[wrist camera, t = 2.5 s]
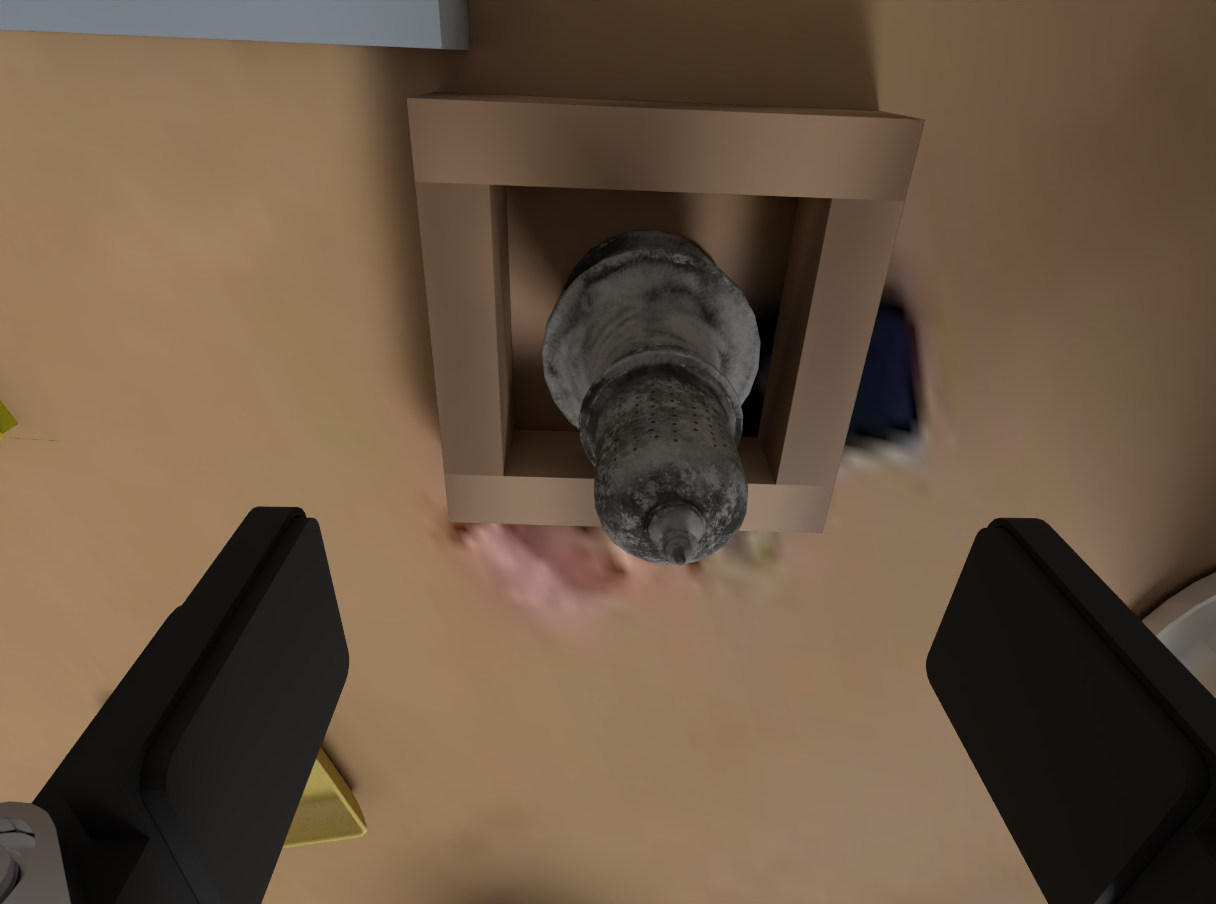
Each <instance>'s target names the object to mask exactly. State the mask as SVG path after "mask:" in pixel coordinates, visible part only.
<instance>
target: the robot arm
mask: <svg viewBox="0 0 1216 904" xmlns="http://www.w3.org/2000/svg"><path fill="white" fill-rule="evenodd" d="M348 669H349V653H348V648H347V644H346V639H345V635H344V631H343V626H342V622H341V618H340V613H339V609H338V605H337V600H336V596H335V592H334V587H333V583H332V579H331V574H330V570H329V566H328V561H327V557H326V552H325V548H324V544H323V539H322V535H321V531H320V527H319V524H318V521H317V520H316V519H315V518H307V517H306V515H305V512H304V511H303V510H302V509H301V508H299V507H255V508H253V509H252V510H251V511H250V512H249V513H248V515H247V516H246V517H245V519H244V520H243V522H242V523H241V524H240V526H239V527H238V529H237V530H236V531H235V533H234V534H233V535H232V537H231V538H230V540H229V541H228V542H227V544H226V545H225V547H224V548H223V549H222V551H221V552H220V553H219V555H218V556H217V558H216V559H215V560H214V562H213V563H212V565H211V566H210V567H209V569H208V570H207V571H206V573H205V574H204V576H203V577H202V578H201V580H200V581H199V583H198V584H197V585H196V587H195V588H194V589H193V591H192V592H191V594H190V595H189V596H188V598H187V599H186V601H185V602H184V603H183V605H181V606H179V607H177V608H176V609H175V610H174V611H173V612H172V613H171V614H170V615H169V617H168V618H167V619H166V621H165V622H164V623H163V625H162V626H161V627H160V629H159V630H158V631H157V633H156V634H155V636H154V637H153V638H152V640H151V641H150V642H149V644H148V645H147V646H146V648H145V649H144V651H143V652H142V653H141V655H140V656H139V657H138V659H137V660H136V661H135V663H134V664H133V666H132V667H131V668H130V670H129V671H128V672H127V674H126V675H125V677H124V678H123V679H122V681H121V682H120V683H119V685H118V686H117V687H116V689H115V690H114V692H113V693H112V694H111V696H110V697H109V698H108V700H107V701H106V702H105V704H104V705H103V707H102V708H101V709H100V711H99V712H98V713H97V715H96V716H95V717H94V719H93V720H92V722H91V723H90V724H89V726H88V727H87V728H86V730H85V731H84V733H83V734H82V735H81V737H80V738H79V739H78V741H77V742H76V743H75V745H74V746H73V748H72V749H71V750H70V752H69V753H68V754H67V756H66V757H65V758H64V760H63V761H62V763H61V764H60V765H59V767H58V768H57V769H56V771H55V772H54V774H53V775H52V776H51V778H50V779H49V780H48V782H47V783H46V784H45V786H44V787H43V789H42V790H41V791H40V793H39V794H38V795H37V797H36V798H35V799H34V801H33V802H32V803H22V802H10V801H9V802H4V803H0V904H261V903H262V900H263V897H264V895H265V892H266V889H267V887H268V884H269V882H270V879H271V876H272V874H273V871H274V868H275V866H276V863H277V860H278V858H279V855H280V853H281V850H282V847H283V845H284V842H285V839H286V837H287V834H288V832H289V829H290V826H291V824H292V821H293V818H294V816H295V813H296V810H297V808H298V805H299V803H300V800H301V797H302V795H303V792H304V789H305V787H306V784H307V781H308V779H309V776H310V774H311V771H312V768H313V766H314V763H315V760H316V758H317V755H318V752H319V750H320V747H321V745H322V742H323V739H324V737H325V734H326V731H327V729H328V726H329V724H330V721H331V718H332V716H333V713H334V710H335V708H336V705H337V702H338V700H339V697H340V695H341V692H342V689H343V687H344V684H345V681H346V678H347V674H348ZM926 671H927V676H928V679H929V682H930V684H931V686H932V688H933V690H934V691H935V693H936V695H937V697H938V699H939V701H940V703H941V705H942V706H943V708H944V710H945V712H946V714H947V716H948V718H949V719H950V721H951V723H952V725H953V727H954V729H955V731H956V733H957V734H958V736H959V738H960V740H961V742H962V744H963V746H964V747H965V749H966V751H967V753H968V755H969V757H970V759H971V761H972V762H973V764H974V766H975V768H976V770H977V772H978V774H979V775H980V777H981V779H982V781H983V783H984V785H985V787H986V788H987V790H988V792H989V794H990V796H991V798H992V800H993V802H994V803H995V805H996V807H997V809H998V811H999V813H1000V815H1001V816H1002V818H1003V820H1004V822H1005V824H1006V826H1007V828H1008V830H1009V831H1010V833H1011V835H1012V837H1013V839H1014V841H1015V843H1016V844H1017V846H1018V848H1019V850H1020V852H1021V854H1022V856H1023V857H1024V859H1025V861H1026V863H1027V865H1028V867H1029V869H1030V871H1031V872H1032V874H1033V876H1034V878H1035V880H1036V882H1037V884H1038V885H1039V887H1040V889H1041V891H1042V893H1043V895H1044V897H1045V899H1046V900H1047V902H1048V904H1216V572H1214V573H1212V574H1210V575H1208V576H1206V577H1204V578H1202V579H1200V580H1198V581H1196V582H1194V583H1193V584H1191V585H1189V586H1188V587H1186V588H1185V589H1183V590H1181V591H1180V592H1178V593H1177V594H1175V595H1174V596H1172V597H1170V598H1169V599H1167V600H1166V601H1165V602H1163V603H1162V604H1161V605H1160V606H1158V607H1157V608H1156V609H1155V610H1154V611H1152V612H1151V613H1150V614H1149V615H1147V616H1146V617H1145V618H1144V619H1143V620H1142V621H1141V620H1140V619H1139V618H1138V617H1137V616H1136V615H1135V614H1134V613H1133V612H1132V611H1131V610H1130V609H1129V608H1128V607H1127V606H1126V605H1125V603H1124V602H1123V601H1122V600H1121V599H1120V598H1119V597H1118V596H1117V595H1116V594H1115V593H1114V592H1113V591H1112V590H1111V589H1110V588H1109V587H1108V586H1107V585H1106V584H1105V583H1104V582H1103V581H1102V580H1101V578H1100V577H1099V576H1098V575H1097V574H1096V573H1095V572H1094V571H1093V570H1092V569H1091V568H1090V567H1089V566H1088V565H1087V564H1086V563H1085V562H1084V561H1083V560H1082V559H1081V558H1080V557H1079V556H1078V555H1077V553H1076V552H1075V551H1074V550H1073V549H1072V548H1071V547H1070V546H1069V545H1068V544H1067V543H1066V542H1065V541H1064V540H1063V539H1062V538H1061V537H1060V536H1059V535H1058V534H1057V533H1056V532H1055V531H1054V530H1053V528H1052V527H1051V526H1050V525H1049V524H1047V523H1046V522H1045V521H1043V520H1041V519H1037V518H997V519H994V520H993V521H992V522H991V523H990V524H989V525H988V527H987V528H983V529H981V530H980V531H979V532H978V534H977V535H976V537H975V540H974V542H973V545H972V547H971V550H970V552H969V555H968V557H967V560H966V562H965V565H964V567H963V570H962V572H961V574H960V577H959V579H958V582H957V584H956V587H955V589H954V592H953V594H952V597H951V599H950V602H949V604H948V607H947V609H946V611H945V614H944V616H943V619H942V621H941V624H940V626H939V629H938V631H937V634H936V636H935V639H934V641H933V644H932V646H931V648H930V651H929V653H928V656H927V660H926Z"/></svg>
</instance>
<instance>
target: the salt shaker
mask: <svg viewBox="0 0 1216 904" xmlns="http://www.w3.org/2000/svg"><path fill="white" fill-rule="evenodd" d="M759 355H760V337H759V332H758V327H757V323H756V318H755V314H754V313H753V311H752V309H751V307H750V305H749V303H748V302H747V300H746V298H745V296H744V294H743V292H742V290H741V289H740V288H739V287H738V286H737V285H736V284H735V283H734V282H733V281H732V280H731V279H730V278H729V277H728V276H727V275H726V274H725V273H724V272H723V271H722V270H721V269H719V268H717V267H716V266H715V264H714V262H713V261H712V260H711V259H710V258H709V257H708V256H707V255H706V254H705V253H704V252H703V251H702V250H701V249H700V248H699V247H698V246H696V245H695V244H693V243H691V242H689V241H687V240H685V239H684V238H682V237H680V236H678V235H675V234H671V233H666V232H662V231H658V230H640V231H630V232H626V233H623V234H620V235H617V236H614V237H611V238H608V239H607V240H605V241H604V242H602V243H601V244H599V245H598V246H596V247H595V248H593V249H592V250H590V251H589V252H588V253H587V254H586V255H585V257H584V258H583V259H582V260H581V261H580V262H579V263H578V264H577V265H576V267H575V268H574V270H573V272H572V274H571V276H570V278H569V280H568V282H567V284H566V286H565V288H564V293H563V294H562V295H561V296H560V297H559V299H558V301H557V303H556V305H555V307H554V309H553V311H552V313H551V315H550V317H549V319H548V321H547V324H546V329H545V335H544V340H543V346H542V360H543V370H544V378H545V380H546V383H547V385H548V388H549V390H550V393H551V396H552V398H553V401H554V402H555V404H556V405H557V406H558V408H559V409H560V410H561V412H562V413H563V414H564V416H565V417H566V418H567V420H568V421H569V422H570V423H571V424H573V425H574V426H575V427H576V428H578V429H579V434H580V440H581V443H582V445H583V448H584V450H585V453H586V456H587V457H588V458H589V460H590V461H591V462H592V464H593V465H594V466H595V469H594V500H595V509H596V511H597V514H598V517H599V519H600V522H601V524H602V527H603V529H604V531H605V532H606V534H607V535H608V536H609V537H610V538H611V540H612V541H613V542H614V543H615V544H616V545H617V546H619V547H620V548H622V549H623V550H624V551H626V552H627V553H628V554H631V555H633V556H636V557H638V558H641V559H643V560H646V561H648V562H652V563H658V564H663V565H683V564H687V563H691V562H695V561H699V560H701V559H703V558H705V557H708V556H710V555H712V554H714V553H715V552H716V551H718V550H719V549H720V548H721V547H723V546H724V545H725V544H727V543H728V542H729V541H730V540H731V539H732V538H733V537H734V535H735V534H736V533H737V531H738V530H739V529H740V528H741V525H742V523H743V520H744V518H745V515H746V513H747V498H748V484H747V481H746V477H745V473H744V470H743V467H742V464H741V461H740V458H739V455H738V451H737V446H738V444H739V441H740V438H741V435H742V425H743V413H742V409H741V405H742V403H743V402H744V401H745V399H746V398H747V396H748V395H749V393H750V390H751V388H752V385H753V382H754V379H755V377H756V374H757V371H758V368H759Z"/></svg>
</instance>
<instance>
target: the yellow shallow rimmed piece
mask: <svg viewBox="0 0 1216 904" xmlns="http://www.w3.org/2000/svg"><path fill="white" fill-rule="evenodd" d="M366 832H367V826H366V823H365V819H364V816H363V813H362V811H361V809H360V806H359V804H358V802H357V800H356V798H355V796H354V795H353V793H352V791H351V790H350V788H349V787H348V785H347V784H346V782H345V781H344V779H343V778H342V777H341V775H340V774H339V772H338V771H337V769H336V768H335V767H334V765H333V763H332V762H331V761H330V759H329V758H328V756H327V755H326V753H325V752H324V750H323V749H322V747H320V750H319V752H318V755H317V758H316V760H315V763H314V766H313V768H312V771H311V774H310V776H309V779H308V781H307V784H306V787H305V789H304V792H303V795H302V797H301V800H300V803H299V805H298V808H297V810H296V813H295V816H294V818H293V821H292V824H291V826H290V829H289V832H288V834H287V837H286V839H285V842H284V845H283V847H282V848H287V847H293V846H300V845H309V844H315V843H322V842H329V841H337V840H343V839H351V838H358V837H361V836H362V835H364V834H365V833H366Z"/></svg>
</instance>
